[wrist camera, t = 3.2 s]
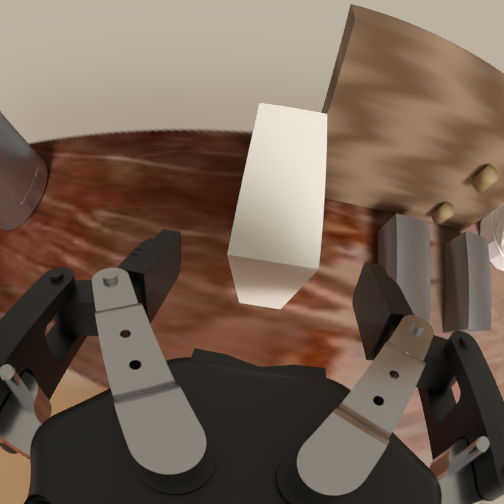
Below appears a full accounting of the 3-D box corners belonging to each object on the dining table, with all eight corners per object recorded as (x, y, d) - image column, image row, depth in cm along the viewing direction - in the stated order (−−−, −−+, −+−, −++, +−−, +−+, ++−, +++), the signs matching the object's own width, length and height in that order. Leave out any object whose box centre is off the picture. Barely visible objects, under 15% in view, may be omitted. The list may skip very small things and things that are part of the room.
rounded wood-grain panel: (286, 316, 21) (385, 247, 5) (303, 174, 24) (350, 4, 9) (465, 333, 20) (611, 299, 5) (461, 213, 23) (564, 124, 8)
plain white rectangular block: (239, 302, 21) (227, 254, 9) (254, 214, 23) (259, 102, 11) (280, 309, 21) (318, 268, 9) (292, 220, 23) (327, 113, 11)
